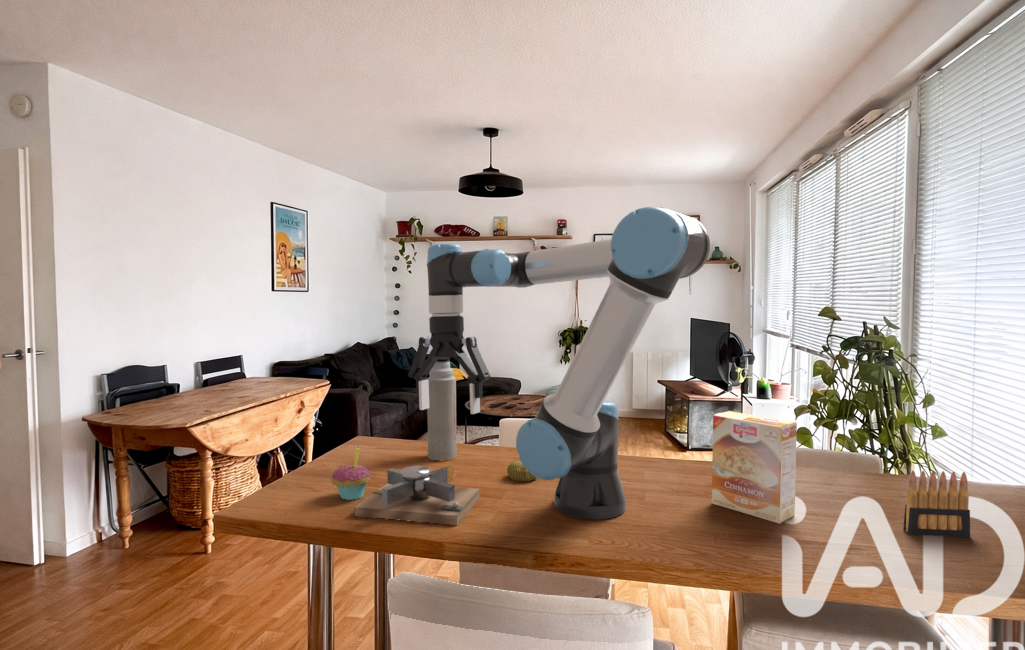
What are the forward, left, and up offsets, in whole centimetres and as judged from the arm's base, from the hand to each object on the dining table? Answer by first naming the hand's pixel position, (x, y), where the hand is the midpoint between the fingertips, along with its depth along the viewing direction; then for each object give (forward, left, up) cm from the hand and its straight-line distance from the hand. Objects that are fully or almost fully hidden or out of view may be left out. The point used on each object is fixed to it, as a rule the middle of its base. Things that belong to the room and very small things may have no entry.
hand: (449, 411), depth 128 cm
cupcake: (+18, +13, -20) cm, 30 cm away
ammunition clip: (-87, -41, -20) cm, 98 cm away
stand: (+1, +8, -20) cm, 21 cm away
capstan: (+1, +8, -17) cm, 19 cm away
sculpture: (-5, -21, -20) cm, 29 cm away
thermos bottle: (+24, -22, -20) cm, 39 cm away
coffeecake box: (-56, -33, -20) cm, 68 cm away
